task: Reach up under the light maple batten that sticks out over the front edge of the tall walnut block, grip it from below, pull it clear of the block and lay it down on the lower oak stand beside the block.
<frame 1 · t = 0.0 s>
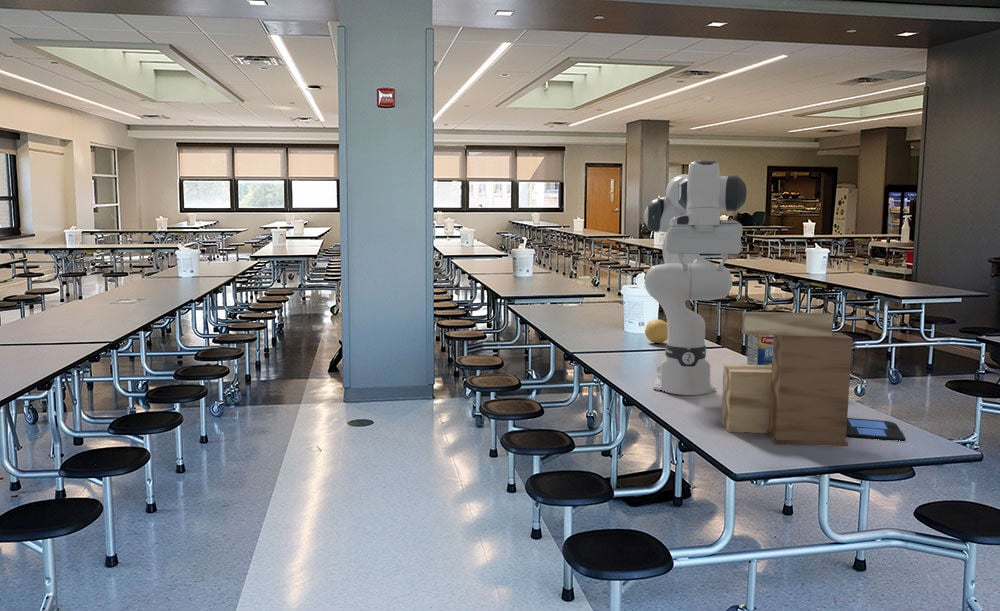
hand: (702, 271, 211), 39 cm above the table, tool pointing down, fingers open, 8 cm apart
maple batten: (786, 334, 186), point 26 cm above the table, touching walnut block
stress ball: (657, 344, 318), on the table
game console: (868, 434, 196), on the table
beverage box: (766, 383, 249), on the table
walnut block: (806, 440, 189), on the table
oak stand: (768, 428, 199), on the table
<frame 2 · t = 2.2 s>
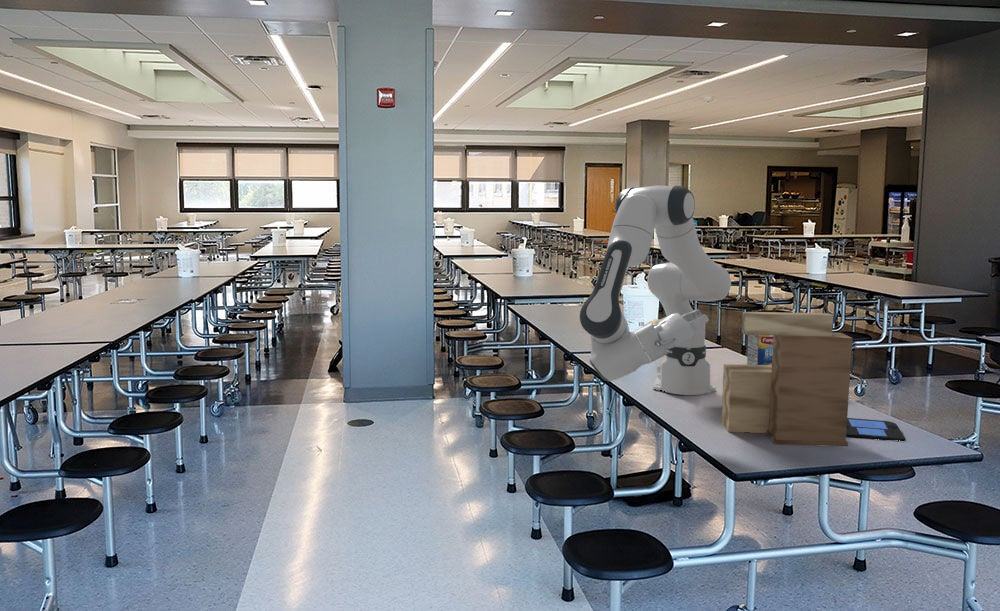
hand: (703, 314, 190), 30 cm above the table, tool pointing upward, fingers open, 8 cm apart
nothing on the table moved.
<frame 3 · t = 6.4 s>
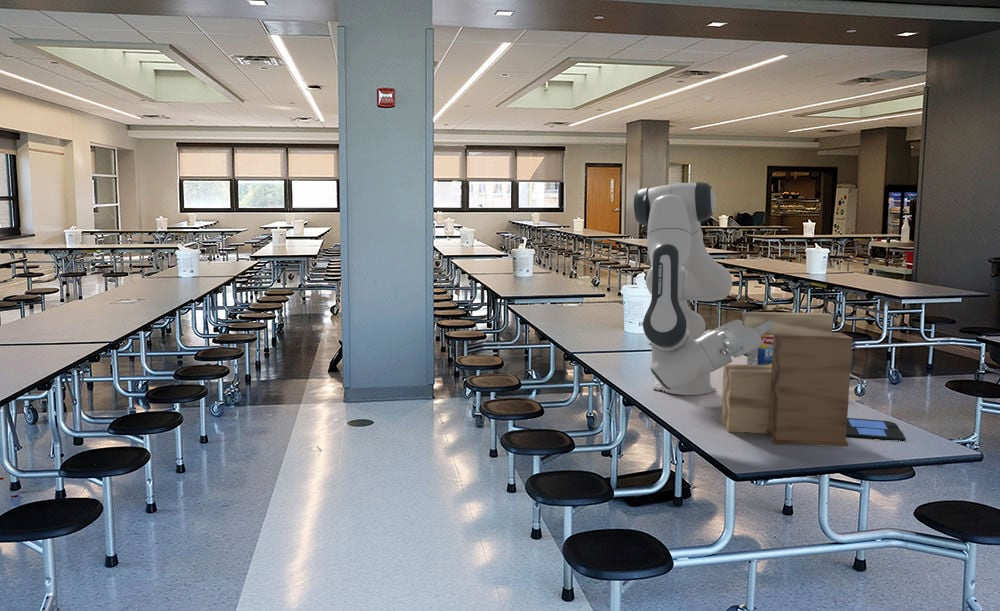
hand: (768, 321, 186), 29 cm above the table, tool pointing upward, fingers closed on maple batten, 3 cm apart
maple batten: (786, 334, 186), point 26 cm above the table, touching gripper, walnut block
everything else where it was.
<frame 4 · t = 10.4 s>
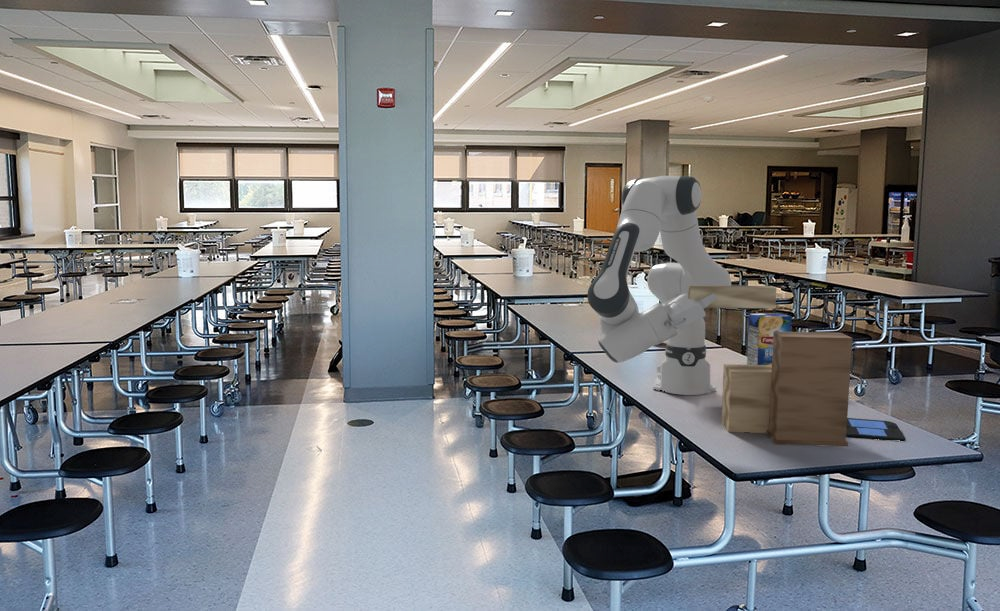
hand: (713, 294, 188), 35 cm above the table, tool pointing upward, fingers closed on maple batten, 3 cm apart
maple batten: (731, 306, 188), point 32 cm above the table, touching gripper
everything else where it was.
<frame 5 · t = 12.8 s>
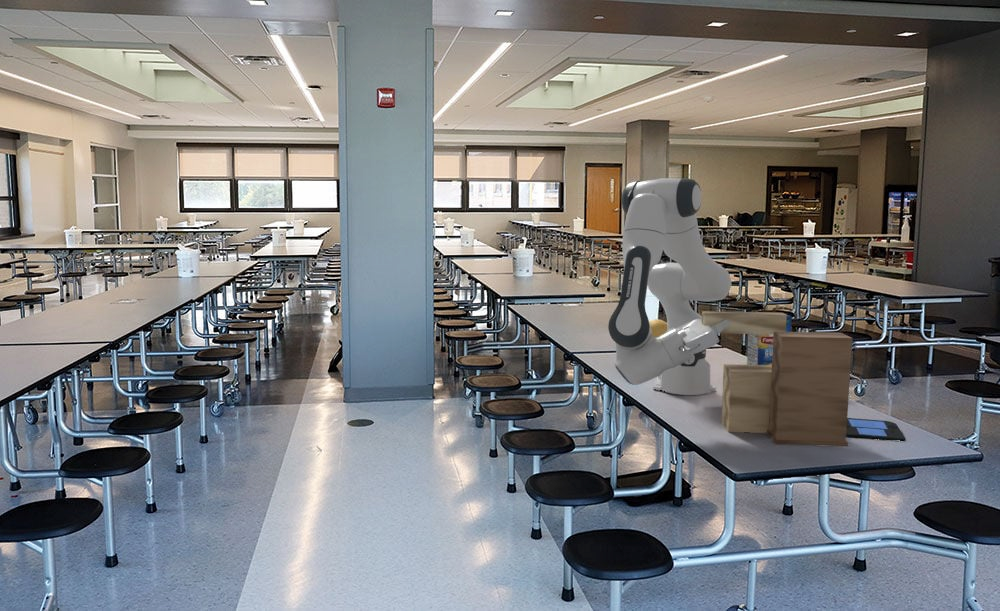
hand: (726, 320, 196), 28 cm above the table, tool pointing upward, fingers closed on maple batten, 3 cm apart
maple batten: (742, 332, 196), point 25 cm above the table, touching gripper
everything else where it was.
when the fingers open (19 cm above the table, at t = 14.8 s): maple batten stays where it is, resting on oak stand.
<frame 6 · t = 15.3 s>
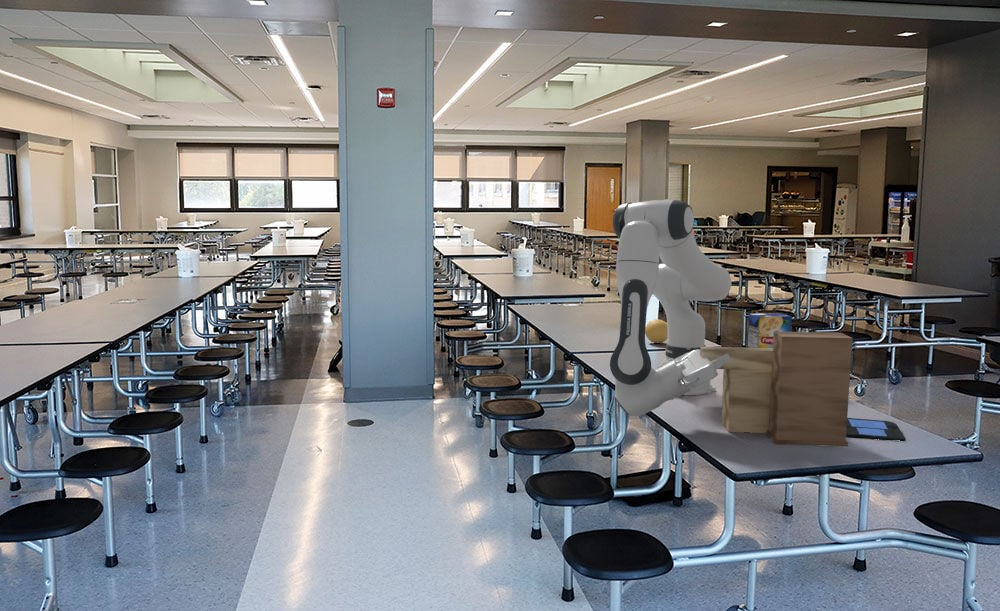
hand: (725, 352, 197), 19 cm above the table, tool pointing upward, fingers open, 8 cm apart
maple batten: (741, 368, 197), point 15 cm above the table, touching oak stand
everything else where it was.
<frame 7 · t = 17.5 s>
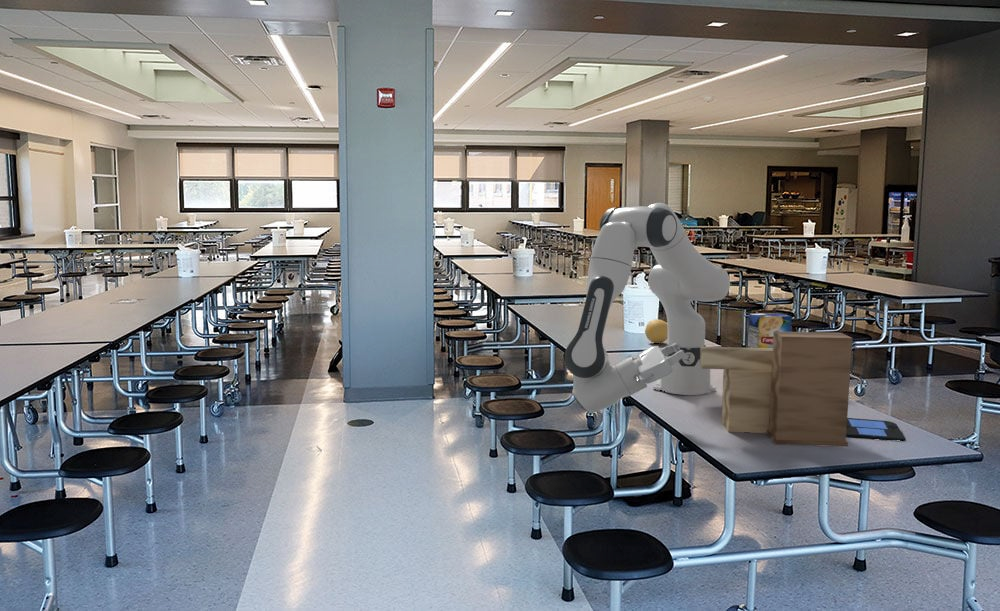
hand: (681, 349, 198), 20 cm above the table, tool pointing upward, fingers open, 8 cm apart
nothing on the table moved.
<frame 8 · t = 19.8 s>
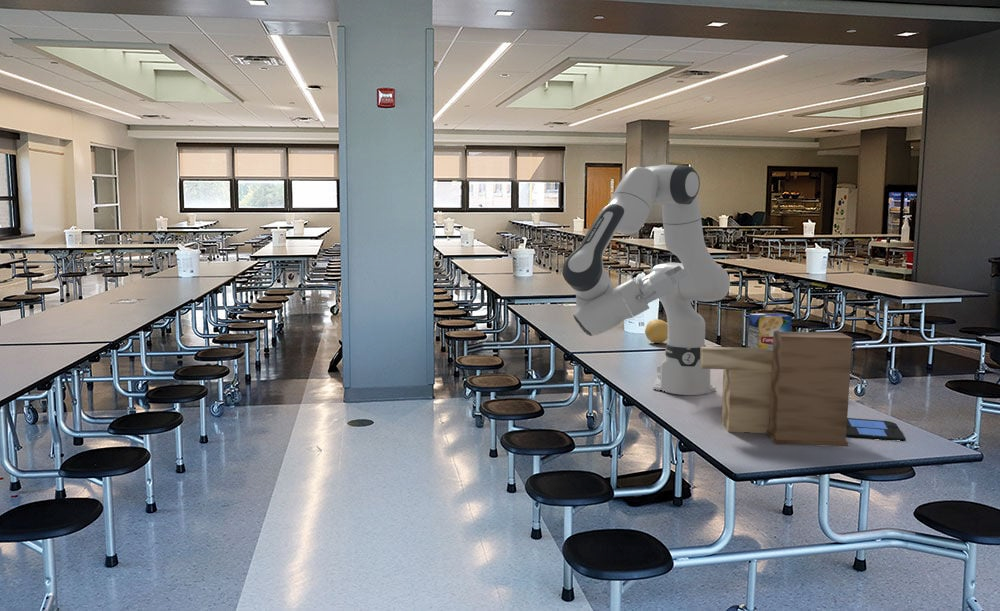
hand: (684, 269, 195), 40 cm above the table, tool pointing upward, fingers open, 8 cm apart
nothing on the table moved.
at the end: maple batten inside the target area (4.6 cm from its centre), point 15.5 cm above the table; the gripper is holding nothing; maple batten touching oak stand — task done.
